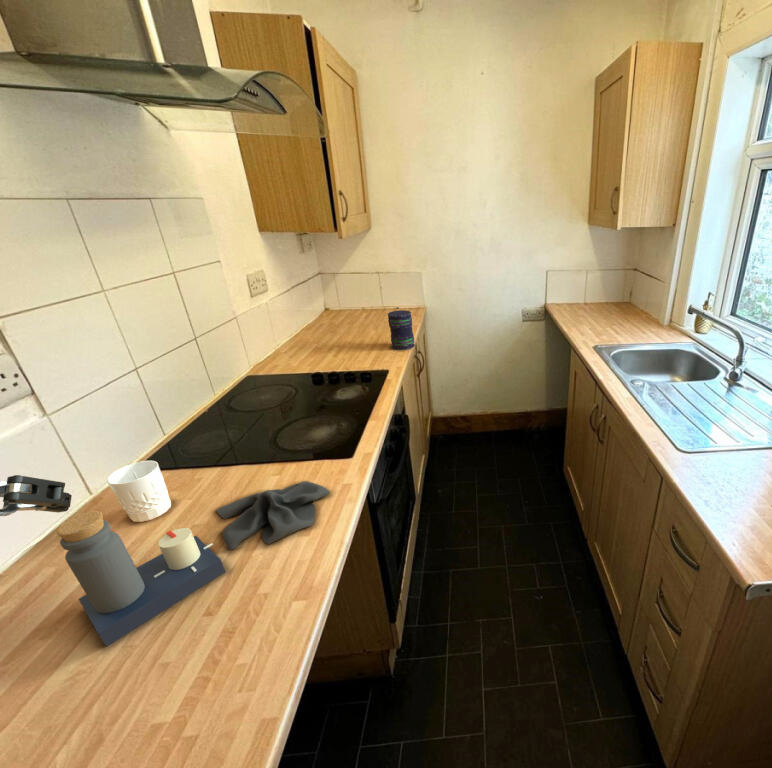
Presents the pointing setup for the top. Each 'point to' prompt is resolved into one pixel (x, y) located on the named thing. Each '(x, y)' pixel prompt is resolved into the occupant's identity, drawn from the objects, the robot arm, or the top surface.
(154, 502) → the white cup
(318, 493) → the cloth
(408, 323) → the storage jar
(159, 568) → the panel
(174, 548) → the knob
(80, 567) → the bottle
